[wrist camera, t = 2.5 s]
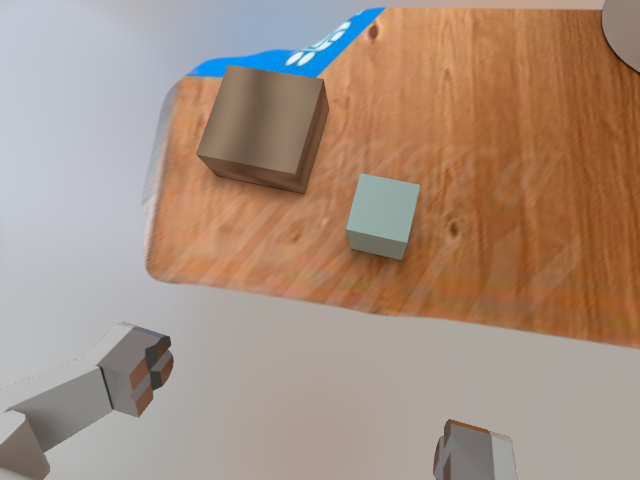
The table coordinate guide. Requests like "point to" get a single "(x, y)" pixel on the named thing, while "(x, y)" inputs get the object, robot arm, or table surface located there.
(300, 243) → the table surface
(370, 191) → the sage block
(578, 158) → the table surface
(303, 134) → the walnut block
